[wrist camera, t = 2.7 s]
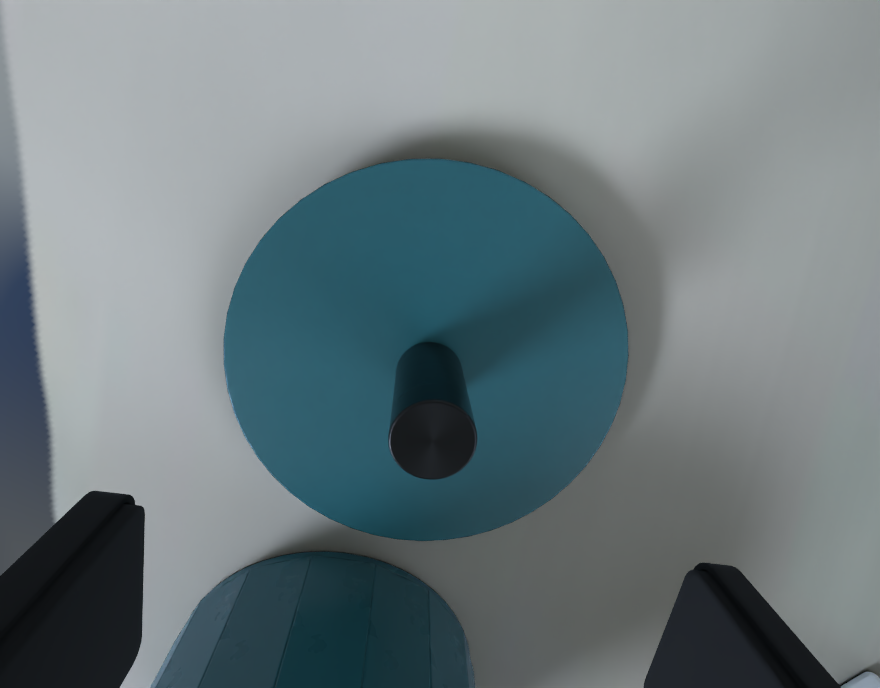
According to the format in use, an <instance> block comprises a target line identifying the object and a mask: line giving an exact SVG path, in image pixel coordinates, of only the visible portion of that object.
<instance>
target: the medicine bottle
mask: <svg viewBox="0 0 880 688" xmlns="http://www.w3.org/2000/svg"><path fill="white" fill-rule="evenodd" d="M840 687H841V688H880V678H879V676H877V675H876V674H874V673H873V672H864V673H862V674H861V675H859V676H857V677H856V678H854V679H852V680H850V681H849V682H847V683H845V684H844V685H842V686H840Z"/></svg>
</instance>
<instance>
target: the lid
mask: <svg viewBox="0 0 880 688" xmlns="http://www.w3.org/2000/svg"><path fill="white" fill-rule="evenodd" d="M627 364H628V329H627V323H626V318H625V312H624V306H623V302H622V299H621V296H620V293H619V290H618V287H617V284H616V281H615V279H614V277H613V275H612V272H611V270H610V268H609V266H608V264H607V262H606V260H605V258H604V256H603V255H602V253H601V252H600V250H599V249H598V247H597V246H596V244H595V243H594V242H593V240H592V239H591V237H590V236H589V234H588V233H587V232H586V231H585V230H584V229H583V228H582V227H581V226H580V224H579V223H578V222H577V221H576V220H575V219H574V218H573V217H572V216H571V215H570V214H569V213H568V212H567V211H566V210H564V209H563V208H562V207H561V206H560V205H558V204H557V203H556V202H555V201H554V200H552V199H551V198H550V197H549V196H547V195H545V194H544V193H542V192H540V191H539V190H537V189H536V188H534V187H532V186H531V185H529V184H527V183H526V182H524V181H522V180H519V179H517V178H515V177H512V176H510V175H508V174H505V173H503V172H501V171H499V170H495V169H492V168H488V167H484V166H481V165H477V164H474V163H470V162H463V161H455V160H447V159H406V160H399V161H393V162H386V163H380V164H377V165H373V166H370V167H367V168H363V169H360V170H357V171H353V172H351V173H348V174H346V175H344V176H342V177H340V178H338V179H335V180H333V181H331V182H329V183H327V184H325V185H323V186H322V187H320V188H318V189H317V190H315V191H314V192H312V193H311V194H309V195H308V196H306V197H304V198H303V199H301V200H300V201H299V202H298V203H297V204H295V205H294V206H293V207H292V208H291V209H290V210H288V211H287V212H286V213H285V214H284V215H283V216H281V217H280V218H279V219H278V220H277V222H276V223H275V224H274V225H273V226H272V227H271V228H270V230H269V231H268V232H267V233H266V234H265V235H264V237H263V238H262V239H261V240H260V242H259V243H258V245H257V246H256V248H255V249H254V251H253V253H252V254H251V256H250V257H249V259H248V260H247V262H246V264H245V266H244V268H243V270H242V272H241V275H240V277H239V279H238V281H237V283H236V286H235V288H234V291H233V295H232V298H231V302H230V305H229V309H228V312H227V319H226V326H225V333H224V369H225V376H226V383H227V389H228V393H229V396H230V400H231V403H232V407H233V410H234V413H235V416H236V418H237V420H238V423H239V425H240V427H241V429H242V431H243V434H244V436H245V438H246V439H247V441H248V443H249V444H250V446H251V447H252V449H253V451H254V452H255V454H256V455H257V457H258V458H259V460H260V461H261V462H262V463H263V464H264V466H265V467H266V468H267V469H268V471H269V472H270V473H271V474H272V476H273V477H274V478H276V479H277V480H278V481H279V482H280V483H281V484H282V485H283V486H284V487H285V488H286V489H287V490H288V491H289V492H290V493H291V494H293V495H294V496H295V497H297V498H298V499H299V500H301V501H302V502H303V503H305V504H306V505H307V506H309V507H310V508H312V509H314V510H316V511H317V512H319V513H321V514H323V515H324V516H326V517H328V518H329V519H332V520H334V521H336V522H339V523H341V524H343V525H346V526H348V527H350V528H353V529H356V530H360V531H363V532H366V533H369V534H373V535H377V536H383V537H388V538H393V539H401V540H415V541H433V540H448V539H455V538H462V537H468V536H472V535H476V534H479V533H483V532H487V531H491V530H493V529H496V528H498V527H501V526H504V525H506V524H509V523H512V522H514V521H516V520H517V519H519V518H521V517H523V516H525V515H527V514H529V513H531V512H533V511H534V510H536V509H537V508H539V507H540V506H542V505H543V504H545V503H546V502H548V501H549V500H551V499H552V498H553V497H555V496H556V495H557V494H558V493H559V492H560V491H562V490H563V489H564V488H565V487H566V486H567V485H569V484H570V483H571V482H572V481H573V480H574V478H575V477H576V476H577V475H578V474H579V473H580V472H581V471H582V470H583V469H584V468H585V467H586V465H587V464H588V463H589V461H590V460H591V458H592V457H593V456H594V454H595V453H596V451H597V450H598V449H599V447H600V446H601V444H602V442H603V440H604V438H605V436H606V435H607V433H608V431H609V429H610V427H611V425H612V423H613V420H614V418H615V415H616V412H617V410H618V407H619V405H620V401H621V397H622V393H623V389H624V385H625V381H626V373H627Z"/></svg>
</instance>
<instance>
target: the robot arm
mask: <svg viewBox="0 0 880 688" xmlns="http://www.w3.org/2000/svg"><path fill="white" fill-rule="evenodd" d="M144 521H145V513H144V508H143V507H142V506H137V505H135V500H134V498H133V496H131V495H126V494H118V493H109V492H101V491H91V492H89V493H88V494H86V495H85V496H84V497H83V498H82V499H81V500H80V501H79V502H78V503H76V504H75V505H74V506H73V507H72V508H71V509H70V510H69V511H68V512H67V513H66V514H65V515H64V516H63V517H62V518H61V519H60V520H59V521H58V522H57V523H56V524H54V525H53V526H52V527H51V528H50V529H49V530H48V531H47V532H46V533H45V534H44V535H43V536H42V537H41V538H40V539H39V540H38V541H37V542H36V543H35V544H34V545H33V546H32V547H30V548H29V549H28V550H27V551H26V552H25V553H24V554H23V555H22V556H21V557H20V558H19V559H18V560H17V561H16V562H15V563H14V564H13V565H11V566H10V568H8V569H7V570H6V571H5V572H4V573H3V574H2V575H1V576H0V688H120V686H121V684H122V682H123V681H124V679H125V677H126V675H127V674H128V672H129V670H130V668H131V667H132V665H133V663H134V661H135V659H136V656H137V654H138V651H139V648H140V644H141V639H142V608H143V565H144ZM644 688H841V687H840V686H839V685H838V684H837V682H836V681H835V680H834V679H833V678H832V677H831V675H830V674H829V673H828V672H827V671H826V670H825V668H824V667H823V666H822V665H821V664H820V663H819V662H818V660H817V659H816V658H815V657H814V656H813V655H812V653H811V652H810V651H809V650H808V649H807V648H806V647H805V645H804V644H803V643H802V642H801V641H800V640H799V638H798V637H797V636H796V635H795V634H794V633H793V632H792V630H791V629H790V628H789V627H788V626H787V625H786V623H785V622H784V621H783V620H782V619H781V618H780V617H779V615H778V614H777V613H776V612H775V611H774V610H773V608H772V607H771V606H770V605H769V604H768V603H767V601H766V600H765V599H764V598H763V597H762V596H761V595H760V593H759V592H758V591H757V590H756V589H755V588H754V586H753V585H752V584H751V583H750V582H749V581H748V580H747V578H746V577H745V576H744V575H743V574H742V573H741V572H740V571H739V570H738V569H737V568H735V567H733V566H728V565H720V564H711V563H699V564H698V565H696V566H695V568H694V570H690V571H689V572H688V573H687V574H686V576H685V578H684V581H683V583H682V586H681V589H680V591H679V594H678V596H677V599H676V601H675V604H674V607H673V609H672V612H671V614H670V617H669V620H668V622H667V625H666V627H665V630H664V632H663V635H662V638H661V640H660V643H659V645H658V648H657V651H656V653H655V656H654V658H653V661H652V663H651V666H650V669H649V671H648V674H647V676H646V679H645V682H644Z"/></svg>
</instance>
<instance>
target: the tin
mask: <svg viewBox="0 0 880 688" xmlns="http://www.w3.org/2000/svg"><path fill="white" fill-rule="evenodd" d="M150 688H476V686H475V677H474V671H473V667H472V663H471V659H470V653H469V647H468V642H467V640H466V637H465V634H464V631H463V628H462V627H461V625H460V623H459V621H458V619H457V617H456V615H455V614H454V613H453V611H452V610H451V609H450V608H449V606H448V605H447V604H446V602H445V601H444V600H443V599H442V598H441V597H440V596H439V595H438V594H437V593H436V592H435V591H434V590H433V589H431V588H430V587H429V586H427V585H426V584H425V583H423V582H422V581H421V580H419V579H418V578H416V577H414V576H412V575H411V574H409V573H407V572H405V571H404V570H402V569H399V568H397V567H395V566H392V565H390V564H388V563H385V562H382V561H379V560H375V559H372V558H369V557H365V556H360V555H354V554H349V553H339V552H325V551H324V552H302V553H295V554H289V555H283V556H279V557H275V558H271V559H268V560H264V561H261V562H259V563H256V564H254V565H251V566H249V567H246V568H244V569H242V570H241V571H239V572H237V573H235V574H233V575H231V576H230V577H228V578H227V579H225V580H224V581H223V582H221V583H220V584H219V585H217V586H216V587H215V588H213V589H212V590H211V591H210V592H209V593H208V594H207V595H206V596H205V597H204V598H203V599H202V600H201V601H200V602H199V604H198V606H197V607H196V608H195V610H194V611H193V612H192V614H191V616H190V618H189V619H188V621H187V623H186V624H185V626H184V628H183V629H182V631H181V632H180V634H179V635H178V637H177V639H176V640H175V642H174V644H173V646H172V648H171V650H170V651H169V653H168V655H167V657H166V659H165V661H164V663H163V665H162V666H161V668H160V670H159V672H158V674H157V676H156V678H155V680H154V681H153V683H152V685H151V687H150Z"/></svg>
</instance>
